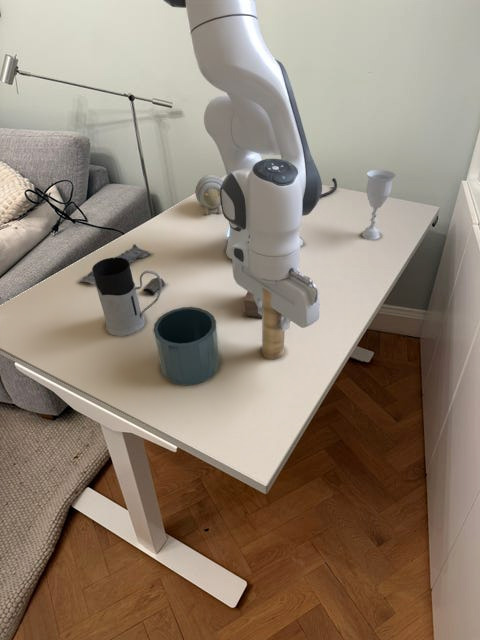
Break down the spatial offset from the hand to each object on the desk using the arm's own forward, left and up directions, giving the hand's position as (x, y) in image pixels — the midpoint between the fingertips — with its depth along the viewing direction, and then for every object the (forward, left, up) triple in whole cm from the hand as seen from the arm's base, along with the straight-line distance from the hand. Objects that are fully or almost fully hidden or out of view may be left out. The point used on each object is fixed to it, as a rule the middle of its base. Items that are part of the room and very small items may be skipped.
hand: (273, 320), depth 84 cm
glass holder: (+17, -27, -8) cm, 33 cm away
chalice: (-55, -19, -8) cm, 59 cm away
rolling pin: (0, 0, -8) cm, 8 cm away
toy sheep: (-32, -66, -8) cm, 74 cm away
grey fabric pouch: (+10, -53, -8) cm, 54 cm away
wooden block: (-8, -14, -8) cm, 18 cm away
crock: (+15, -8, -8) cm, 19 cm away
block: (+7, -37, -8) cm, 38 cm away
